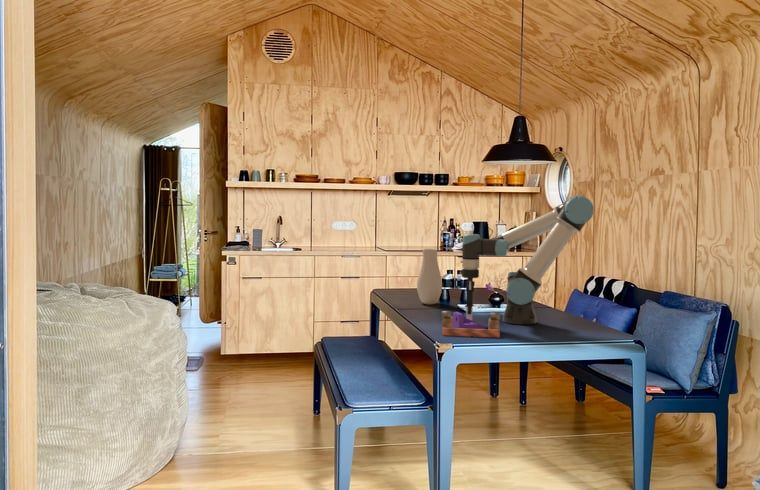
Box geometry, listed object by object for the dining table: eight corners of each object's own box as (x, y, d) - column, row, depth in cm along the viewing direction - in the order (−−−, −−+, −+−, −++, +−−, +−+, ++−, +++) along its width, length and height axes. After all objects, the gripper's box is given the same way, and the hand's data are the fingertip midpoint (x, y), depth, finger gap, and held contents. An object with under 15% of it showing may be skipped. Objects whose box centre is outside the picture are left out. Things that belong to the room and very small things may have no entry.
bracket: (458, 330, 262) (459, 314, 262) (452, 327, 268) (452, 312, 268) (484, 329, 265) (484, 313, 265) (477, 326, 272) (478, 311, 271)
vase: (429, 301, 345) (430, 248, 343) (447, 304, 334) (447, 249, 333) (411, 303, 336) (412, 248, 334) (429, 306, 325) (430, 250, 324)
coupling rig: (499, 332, 256) (499, 311, 256) (500, 337, 246) (501, 315, 246) (441, 330, 260) (442, 309, 259) (440, 335, 249) (441, 313, 249)
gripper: (462, 267, 280) (460, 318, 282) (461, 269, 267) (460, 323, 269) (478, 267, 279) (477, 318, 280) (479, 270, 266) (477, 324, 268)
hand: (469, 320), depth 275 cm, fingers closed
